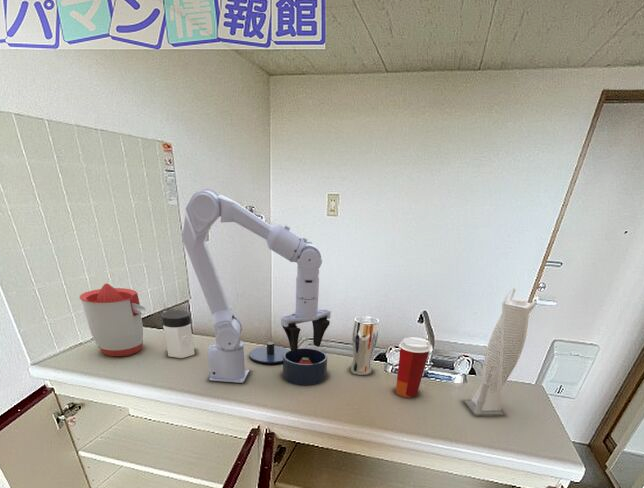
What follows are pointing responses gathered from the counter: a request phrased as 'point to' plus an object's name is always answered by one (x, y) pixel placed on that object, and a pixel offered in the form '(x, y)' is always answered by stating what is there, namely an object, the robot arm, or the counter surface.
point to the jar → (178, 334)
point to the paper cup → (411, 365)
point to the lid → (268, 353)
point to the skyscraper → (501, 355)
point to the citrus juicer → (114, 319)
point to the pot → (304, 366)
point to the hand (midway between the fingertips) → (305, 348)
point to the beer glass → (364, 344)
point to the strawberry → (305, 361)
